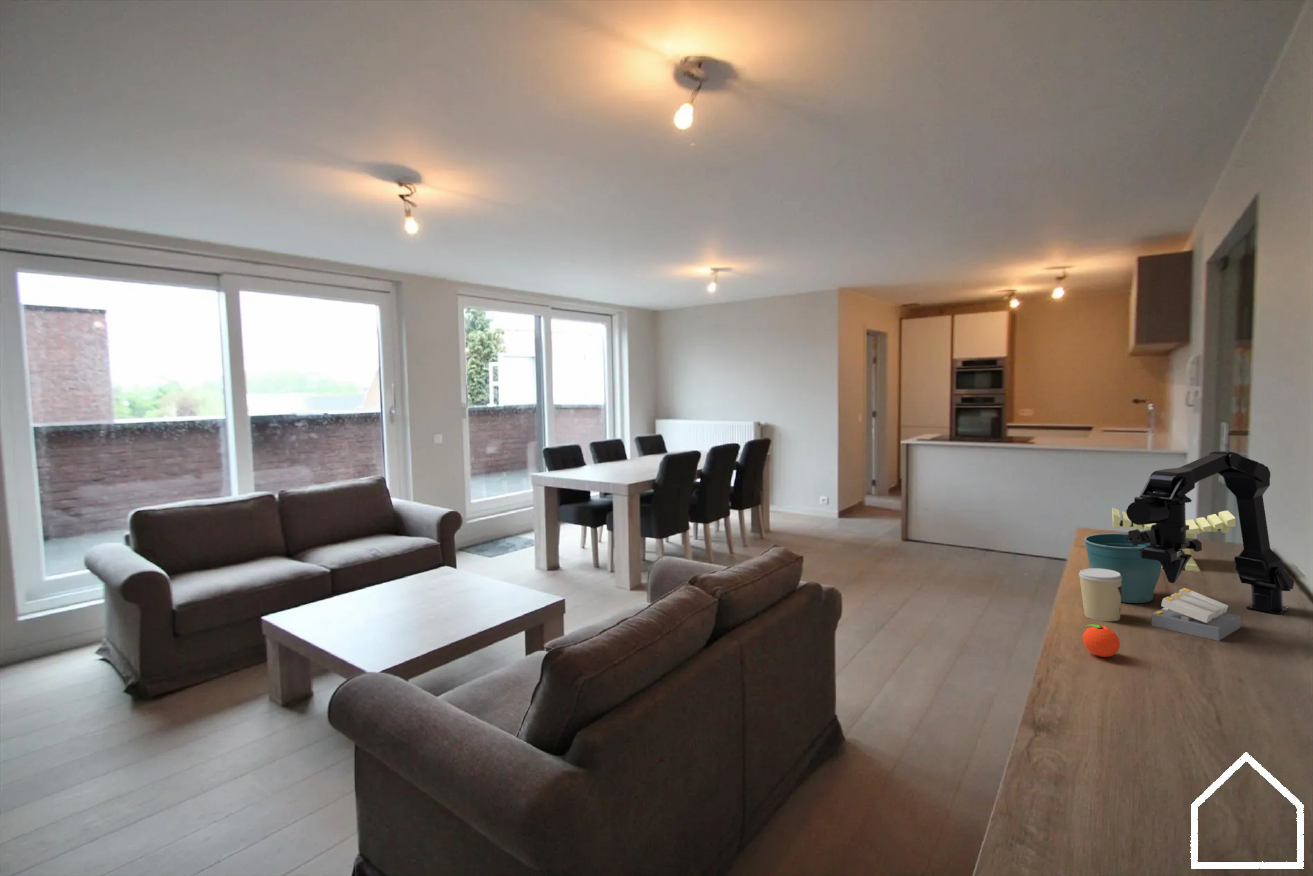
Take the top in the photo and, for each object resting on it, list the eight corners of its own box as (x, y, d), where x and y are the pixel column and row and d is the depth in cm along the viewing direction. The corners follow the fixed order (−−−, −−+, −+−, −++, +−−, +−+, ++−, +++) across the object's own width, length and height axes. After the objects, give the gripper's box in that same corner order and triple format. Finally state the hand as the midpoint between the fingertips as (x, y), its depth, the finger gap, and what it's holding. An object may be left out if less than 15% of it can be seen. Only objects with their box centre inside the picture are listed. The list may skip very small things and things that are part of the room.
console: (1174, 613, 157) (1174, 599, 157) (1240, 627, 146) (1239, 611, 146) (1151, 625, 151) (1151, 610, 151) (1218, 641, 140) (1218, 624, 139)
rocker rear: (1182, 594, 155) (1184, 587, 154) (1225, 612, 148) (1228, 605, 147) (1176, 597, 154) (1179, 589, 153) (1220, 615, 146) (1223, 607, 146)
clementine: (1071, 652, 140) (1070, 623, 139) (1090, 645, 142) (1088, 617, 142) (1109, 664, 132) (1107, 633, 132) (1127, 657, 135) (1126, 627, 135)
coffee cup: (1131, 622, 154) (1129, 577, 153) (1091, 622, 156) (1089, 578, 155) (1112, 610, 163) (1110, 567, 162) (1074, 610, 165) (1072, 568, 164)
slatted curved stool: (1227, 561, 196) (1225, 508, 196) (1237, 574, 184) (1235, 517, 183) (1114, 554, 214) (1111, 505, 214) (1115, 565, 201) (1113, 514, 201)
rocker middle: (1174, 599, 153) (1176, 592, 152) (1219, 615, 145) (1221, 607, 145) (1169, 602, 151) (1170, 594, 151) (1214, 618, 144) (1216, 610, 143)
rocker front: (1166, 603, 151) (1168, 595, 150) (1211, 620, 143) (1213, 612, 143) (1161, 606, 149) (1162, 598, 149) (1206, 623, 142) (1208, 614, 141)
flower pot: (1097, 606, 167) (1094, 547, 166) (1079, 587, 183) (1076, 533, 183) (1177, 609, 160) (1175, 547, 159) (1151, 589, 177) (1148, 533, 176)
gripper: (1148, 512, 159) (1150, 569, 160) (1114, 522, 150) (1116, 582, 151) (1201, 517, 150) (1203, 578, 150) (1169, 528, 141) (1170, 592, 141)
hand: (1171, 582), depth 148 cm, fingers closed
